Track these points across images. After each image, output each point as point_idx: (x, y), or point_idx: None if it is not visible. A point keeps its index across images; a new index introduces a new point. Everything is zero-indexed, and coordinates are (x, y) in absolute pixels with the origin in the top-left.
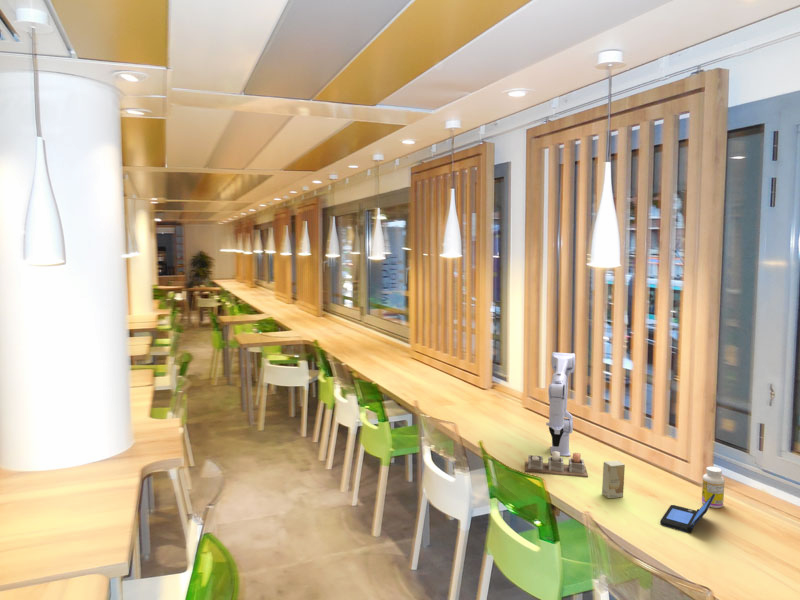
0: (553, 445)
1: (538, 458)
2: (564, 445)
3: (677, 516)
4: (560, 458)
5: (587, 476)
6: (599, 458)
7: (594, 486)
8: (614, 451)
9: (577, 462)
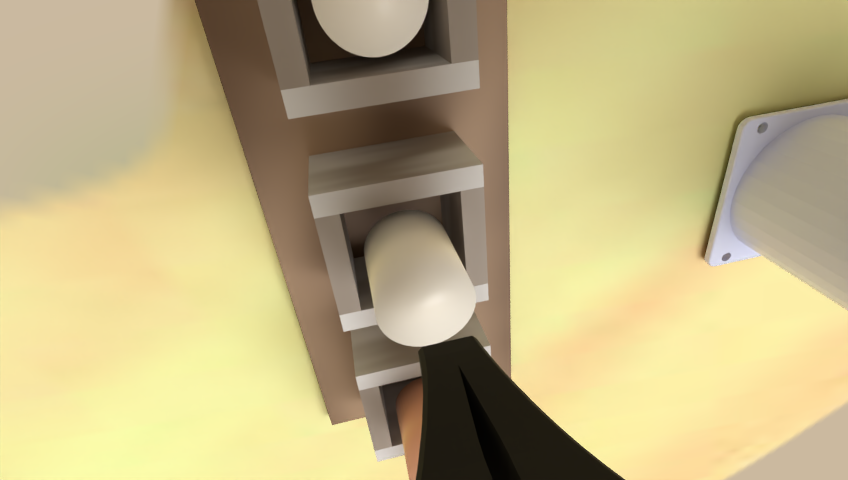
0: (422, 360)
1: (354, 45)
2: (800, 267)
3: None
4: None
5: (331, 417)
6: (672, 405)
7: (183, 469)
8: (772, 438)
9: (398, 420)
